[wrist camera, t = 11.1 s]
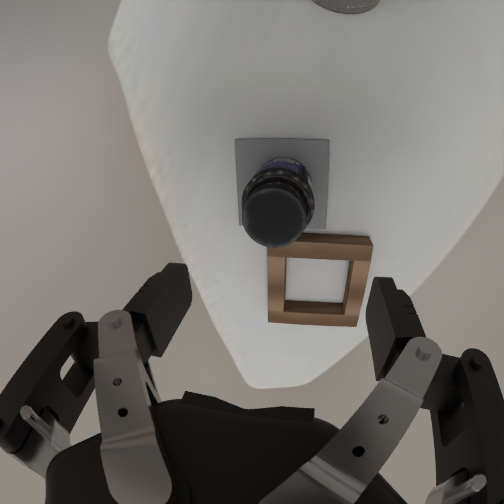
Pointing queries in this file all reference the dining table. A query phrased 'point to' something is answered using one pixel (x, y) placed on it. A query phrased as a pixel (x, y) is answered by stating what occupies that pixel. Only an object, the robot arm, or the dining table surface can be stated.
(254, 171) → the grey pad
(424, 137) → the dining table surface
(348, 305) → the walnut holder
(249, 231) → the pill bottle
